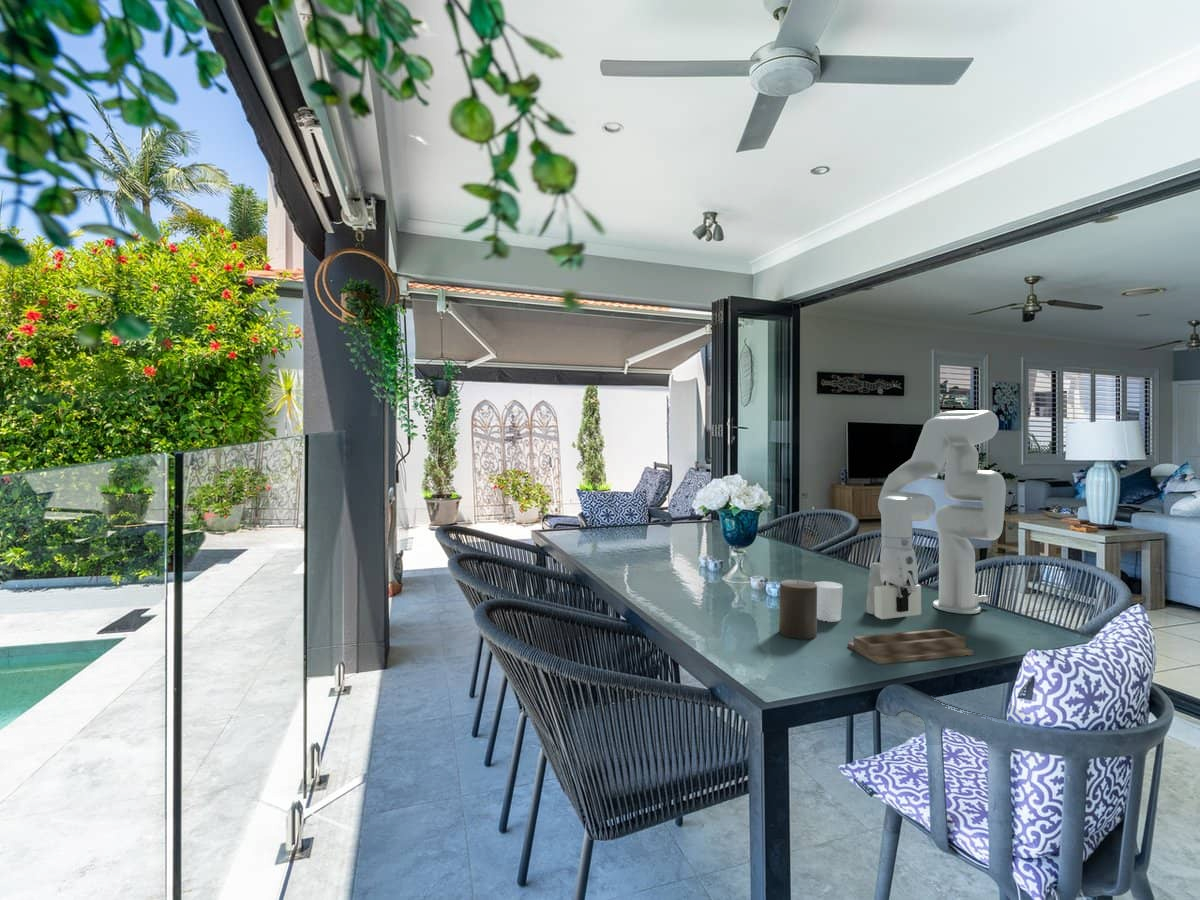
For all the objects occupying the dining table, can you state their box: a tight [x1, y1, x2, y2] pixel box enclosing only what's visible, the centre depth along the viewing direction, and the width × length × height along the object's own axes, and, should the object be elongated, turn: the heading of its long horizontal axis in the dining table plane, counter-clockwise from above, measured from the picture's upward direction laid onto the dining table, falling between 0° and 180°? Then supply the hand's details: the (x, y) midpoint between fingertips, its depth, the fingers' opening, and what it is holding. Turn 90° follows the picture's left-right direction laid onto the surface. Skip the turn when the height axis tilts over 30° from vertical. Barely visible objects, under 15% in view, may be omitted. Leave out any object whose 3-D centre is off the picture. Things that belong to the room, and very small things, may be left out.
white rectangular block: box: [874, 583, 922, 620], centre depth 168 cm, size 12×3×8 cm, turn 101°
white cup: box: [814, 580, 844, 623], centre depth 180 cm, size 8×8×10 cm
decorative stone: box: [866, 562, 885, 616], centre depth 184 cm, size 11×6×15 cm, turn 71°
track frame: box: [847, 628, 974, 665], centre depth 154 cm, size 26×12×3 cm, turn 101°
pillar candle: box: [778, 579, 818, 640], centre depth 168 cm, size 10×10×15 cm
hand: (897, 608), depth 168 cm, fingers closed on white rectangular block, 3 cm apart
